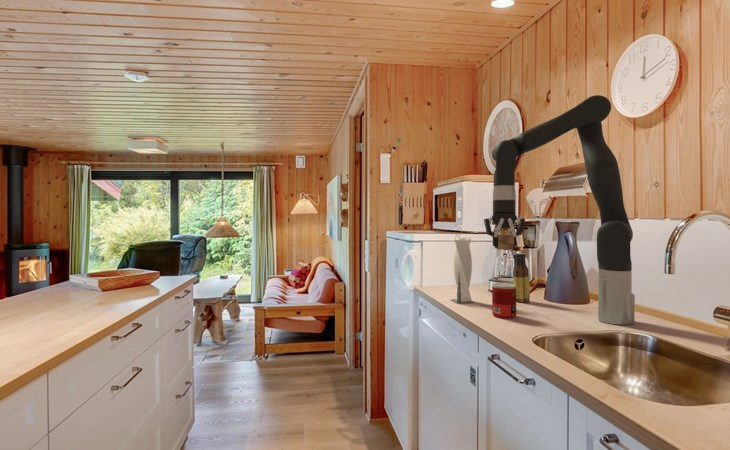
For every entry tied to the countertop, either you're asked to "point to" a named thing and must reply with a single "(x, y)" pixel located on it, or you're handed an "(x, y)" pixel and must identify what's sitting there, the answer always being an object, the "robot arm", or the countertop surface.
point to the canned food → (504, 300)
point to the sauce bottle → (521, 278)
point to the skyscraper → (462, 270)
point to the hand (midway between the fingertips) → (504, 247)
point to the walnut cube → (505, 242)
